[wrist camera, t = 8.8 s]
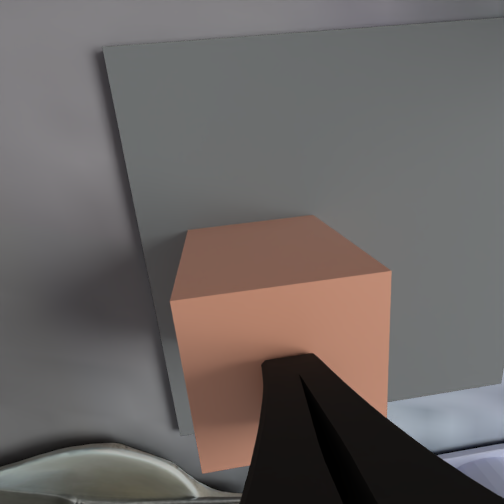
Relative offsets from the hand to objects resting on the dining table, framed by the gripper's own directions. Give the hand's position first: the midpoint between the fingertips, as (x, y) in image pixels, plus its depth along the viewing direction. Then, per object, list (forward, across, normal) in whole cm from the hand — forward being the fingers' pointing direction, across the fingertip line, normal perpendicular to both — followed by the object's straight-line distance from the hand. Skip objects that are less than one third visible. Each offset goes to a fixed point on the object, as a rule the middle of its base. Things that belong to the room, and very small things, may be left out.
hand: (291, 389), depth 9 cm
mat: (+7, -4, -1) cm, 8 cm away
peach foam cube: (+7, 0, 0) cm, 7 cm away
